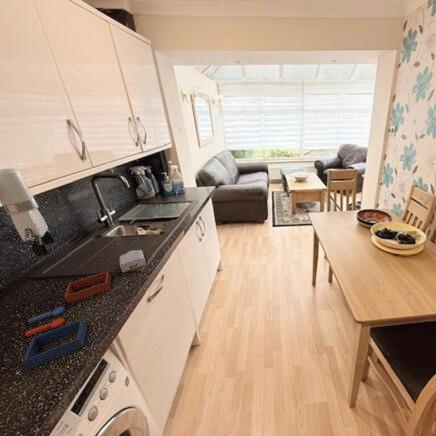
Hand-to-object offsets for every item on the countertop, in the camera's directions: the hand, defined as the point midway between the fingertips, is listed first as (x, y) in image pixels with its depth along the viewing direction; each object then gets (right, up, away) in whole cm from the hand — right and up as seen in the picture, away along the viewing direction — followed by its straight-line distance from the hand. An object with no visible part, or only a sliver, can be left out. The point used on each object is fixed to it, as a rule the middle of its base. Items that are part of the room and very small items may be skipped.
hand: (46, 248), depth 88 cm
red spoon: (+8, -26, -8) cm, 29 cm away
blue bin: (+19, -29, -14) cm, 37 cm away
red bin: (+9, -18, +9) cm, 22 cm away
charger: (+15, -10, +26) cm, 32 cm away
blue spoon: (+3, -24, -3) cm, 24 cm away
